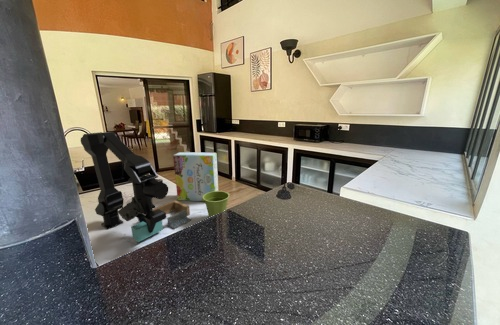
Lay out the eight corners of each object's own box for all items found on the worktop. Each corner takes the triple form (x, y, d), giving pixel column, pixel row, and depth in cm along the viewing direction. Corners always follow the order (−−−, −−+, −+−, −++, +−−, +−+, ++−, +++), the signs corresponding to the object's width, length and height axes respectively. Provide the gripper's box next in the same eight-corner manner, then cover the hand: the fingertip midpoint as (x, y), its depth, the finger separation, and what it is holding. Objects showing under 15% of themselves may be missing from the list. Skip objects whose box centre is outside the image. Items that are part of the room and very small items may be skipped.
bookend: (168, 226, 90) (167, 217, 89) (185, 217, 97) (184, 209, 96) (174, 229, 88) (173, 220, 87) (191, 220, 95) (190, 212, 94)
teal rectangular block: (132, 238, 80) (131, 226, 78) (157, 226, 87) (156, 215, 86) (138, 242, 77) (136, 230, 76) (162, 229, 85) (161, 218, 84)
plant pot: (229, 211, 103) (228, 189, 100) (230, 224, 92) (230, 200, 89) (204, 213, 101) (203, 191, 98) (203, 226, 90) (201, 202, 87)
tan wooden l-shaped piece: (144, 222, 93) (143, 212, 92) (175, 208, 106) (174, 200, 105) (158, 230, 87) (157, 220, 86) (189, 214, 100) (189, 205, 99)
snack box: (219, 195, 121) (217, 152, 114) (215, 202, 113) (213, 155, 106) (183, 194, 123) (179, 151, 116) (176, 200, 115) (172, 154, 108)
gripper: (107, 194, 77) (114, 232, 81) (133, 209, 66) (139, 251, 70) (138, 185, 86) (142, 220, 90) (165, 197, 75) (169, 235, 79)
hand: (147, 230), depth 82 cm, fingers closed on teal rectangular block, 4 cm apart
